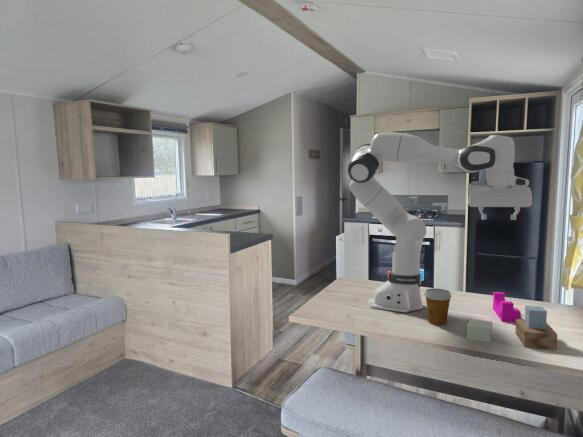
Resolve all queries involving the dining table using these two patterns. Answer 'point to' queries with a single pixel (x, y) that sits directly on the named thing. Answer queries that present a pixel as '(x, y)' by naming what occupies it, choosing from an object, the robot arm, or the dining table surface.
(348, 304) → the dining table surface
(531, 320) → the slate block
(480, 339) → the sage block
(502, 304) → the toy block
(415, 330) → the dining table surface
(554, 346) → the walnut pedestal
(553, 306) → the dining table surface
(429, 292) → the disposable coffee cup
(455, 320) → the dining table surface
